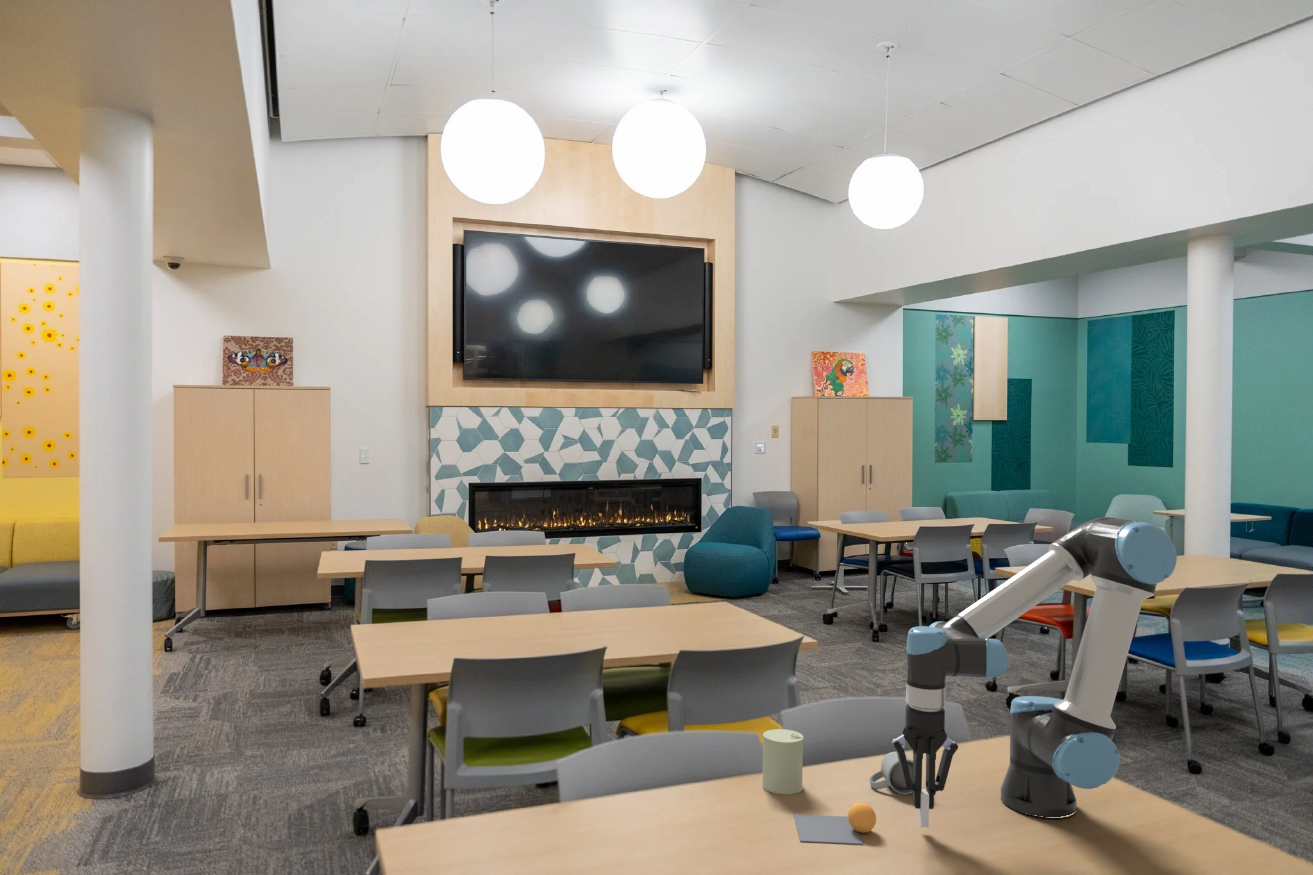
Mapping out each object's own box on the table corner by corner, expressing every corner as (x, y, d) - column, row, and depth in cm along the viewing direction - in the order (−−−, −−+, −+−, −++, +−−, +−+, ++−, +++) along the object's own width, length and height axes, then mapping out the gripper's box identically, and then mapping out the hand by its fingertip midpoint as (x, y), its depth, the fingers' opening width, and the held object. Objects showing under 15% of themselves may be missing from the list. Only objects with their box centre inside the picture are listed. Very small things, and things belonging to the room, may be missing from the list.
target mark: (851, 817, 178) (851, 816, 178) (862, 844, 166) (862, 843, 166) (793, 815, 178) (793, 814, 178) (800, 841, 166) (800, 840, 166)
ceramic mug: (909, 780, 198) (909, 747, 199) (922, 794, 190) (922, 760, 190) (864, 781, 198) (864, 747, 198) (875, 795, 190) (875, 760, 190)
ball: (855, 830, 174) (878, 815, 174) (861, 842, 169) (884, 827, 168) (840, 807, 174) (862, 792, 174) (845, 819, 169) (868, 803, 169)
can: (802, 796, 188) (803, 741, 188) (760, 792, 190) (761, 738, 190) (803, 780, 197) (804, 728, 197) (763, 776, 199) (764, 725, 199)
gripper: (952, 701, 174) (950, 817, 174) (888, 699, 175) (885, 814, 175) (964, 712, 167) (961, 834, 167) (896, 710, 168) (894, 831, 167)
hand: (923, 824), depth 171 cm, fingers closed
